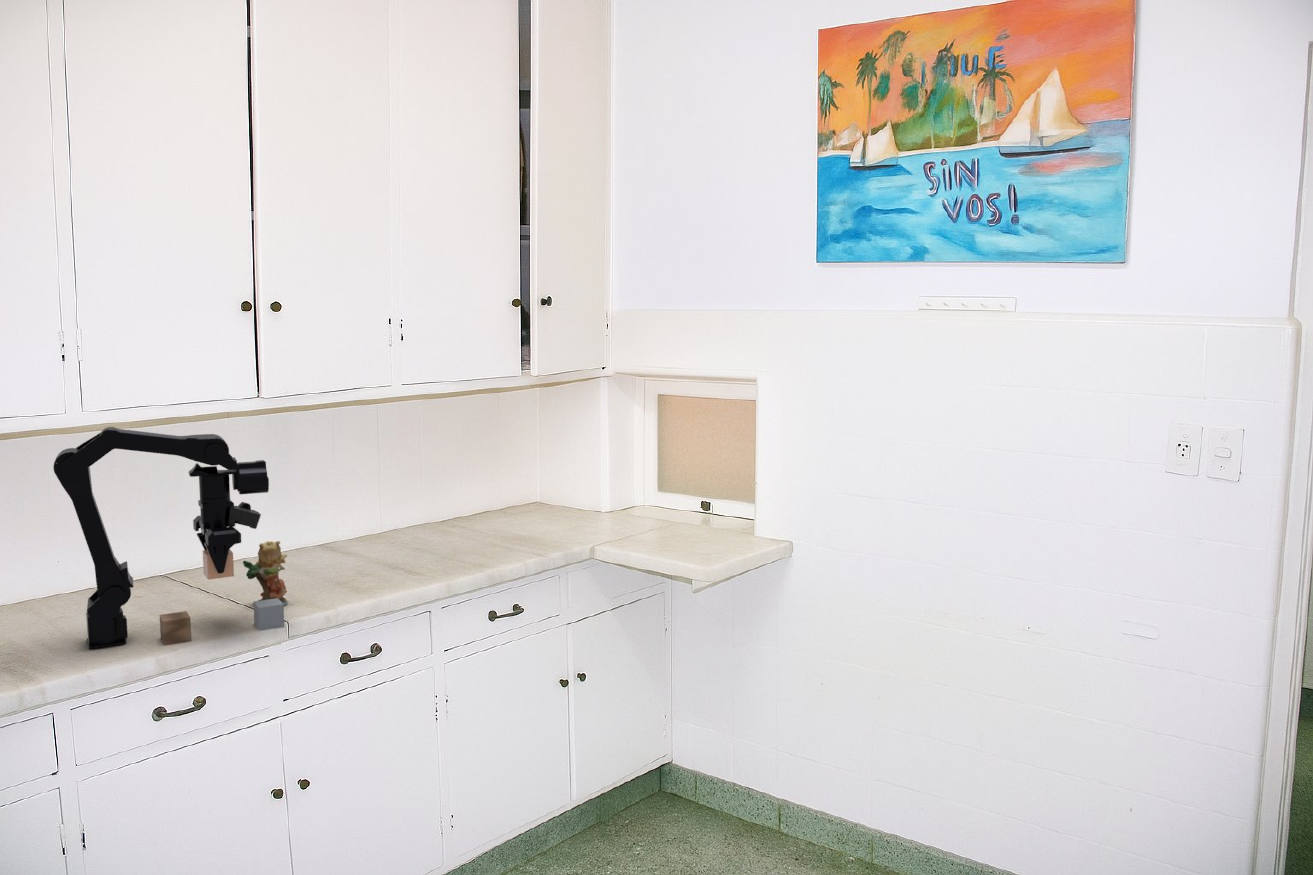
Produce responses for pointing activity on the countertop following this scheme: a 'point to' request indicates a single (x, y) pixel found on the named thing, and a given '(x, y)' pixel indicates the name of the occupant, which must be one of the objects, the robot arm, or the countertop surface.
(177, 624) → the walnut cube
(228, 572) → the terracotta cube
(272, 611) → the slate cube
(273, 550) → the figurine
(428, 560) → the countertop surface
